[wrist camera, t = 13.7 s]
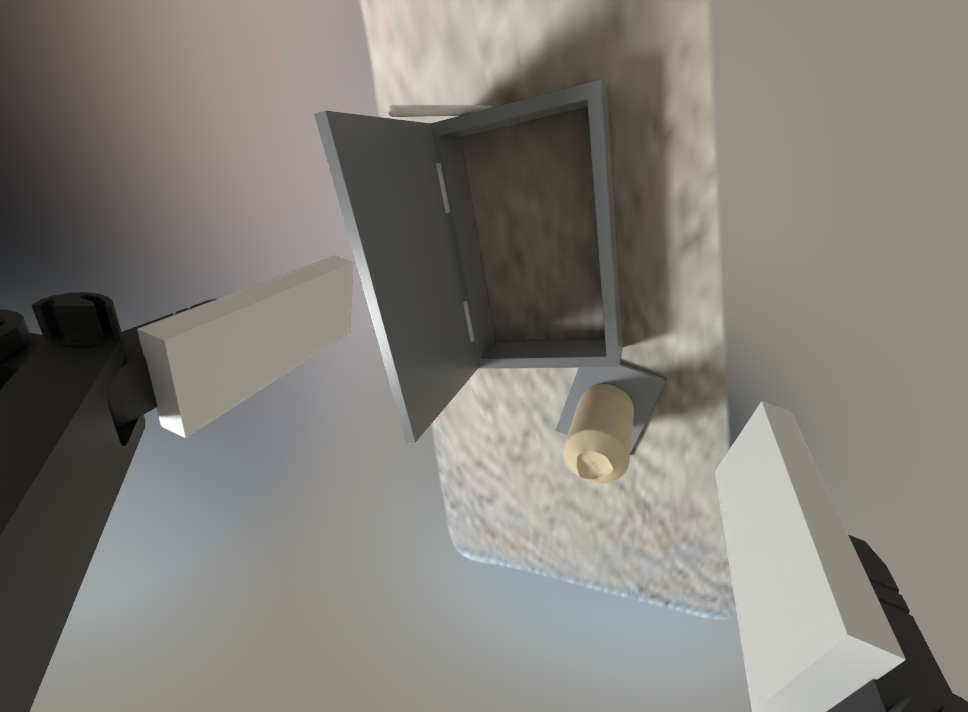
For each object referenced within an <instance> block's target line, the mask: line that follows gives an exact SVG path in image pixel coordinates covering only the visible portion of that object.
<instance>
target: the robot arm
mask: <svg viewBox="0 0 968 712" xmlns="http://www.w3.org/2000/svg"><path fill="white" fill-rule="evenodd" d="M352 284H353V262H351V261H348V260H345V259H342V258H340V257H336V256H332V257H329V258H327V259H324V260H321V261H319V262H316V263H313V264H311V265H308V266H305V267H303V268H300V269H297V270H294V271H292V272H290V273H286V274H284V275H281V276H278V277H276V278H273V279H270V280H267V281H265V282H262V283H259V284H257V285H254V286H251V287H249V288H246V289H243V290H241V291H238V292H235V293H233V294H230V295H227V296H225V297H222V298H219V299H213V300H208V301H205V302H202V303H200V304H197V305H194V306H191V307H190V309H188V308H186V309H183V310H180V311H178V312H176V313H175V314H169V315H167V316H164V317H161V318H159V319H156V320H153V321H150V322H148V323H145V324H142V325H140V326H137V327H134V328H131V329H129V330H126V331H123V332H121V329H120V325H119V322H118V318H117V314H116V311H115V307H114V303H113V301H112V300H111V299H110V298H109V297H107V296H104V295H101V294H96V293H85V292H81V293H65V294H59V295H54V296H50V297H47V298H44V299H41V300H39V301H37V302H36V303H34V304H32V308H33V310H34V313H35V315H36V318H37V321H38V324H39V326H40V329H41V331H42V334H43V335H40V334H34V333H30V332H29V329H28V327H27V324H26V322H25V319H24V317H23V316H22V315H21V314H19V313H18V312H14V311H10V310H0V712H30V709H31V707H32V704H33V702H34V699H35V697H36V694H37V692H38V689H39V687H40V685H41V682H42V679H43V677H44V675H45V672H46V670H47V667H48V665H49V662H50V660H51V657H52V655H53V652H54V650H55V648H56V645H57V643H58V640H59V638H60V635H61V633H62V630H63V628H64V625H65V623H66V621H67V618H68V616H69V613H70V611H71V608H72V606H73V603H74V601H75V598H76V596H77V593H78V591H79V589H80V586H81V584H82V581H83V579H84V576H85V574H86V571H87V569H88V567H89V564H90V561H91V559H92V556H93V554H94V551H95V549H96V547H97V544H98V542H99V539H100V537H101V534H102V532H103V530H104V527H105V525H106V522H107V520H108V517H109V515H110V512H111V510H112V507H113V505H114V502H115V500H116V498H117V495H118V493H119V490H120V488H121V485H122V483H123V480H124V478H125V475H126V473H127V471H128V468H129V466H130V463H131V461H132V458H133V456H134V453H135V451H136V448H137V446H138V444H139V441H140V438H141V436H142V433H143V431H144V429H145V417H144V414H145V413H147V412H149V411H151V410H152V409H154V408H156V407H157V410H158V415H159V419H160V423H161V426H162V427H164V428H166V429H168V430H170V431H172V432H174V433H176V434H178V435H180V436H182V437H184V438H186V437H188V436H190V435H191V434H193V433H194V432H196V431H197V430H199V429H201V428H202V427H204V426H205V425H207V424H208V423H210V422H212V421H213V420H215V419H216V418H218V417H219V416H221V415H223V414H224V413H226V412H227V411H229V410H230V409H232V408H234V407H235V406H237V405H238V404H240V403H241V402H243V401H245V400H246V399H247V398H249V397H251V396H252V395H254V394H255V393H257V392H258V391H260V390H262V389H263V388H265V387H266V386H268V385H270V384H271V383H273V382H274V381H275V380H277V379H279V378H281V377H282V376H284V375H285V374H287V373H288V372H290V371H292V370H293V369H294V368H296V367H298V366H299V365H301V364H302V363H304V362H306V361H307V360H309V359H310V358H312V357H313V356H315V355H317V354H318V353H320V352H321V351H323V350H324V349H326V348H328V347H329V346H331V345H332V344H334V343H335V342H337V341H339V340H340V339H342V338H343V337H345V336H346V335H348V334H349V333H350V332H351V309H352ZM715 475H716V481H717V488H718V494H719V501H720V507H721V513H722V520H723V526H724V533H725V539H726V546H727V552H728V559H729V565H730V572H731V578H732V585H733V591H734V598H735V604H736V611H737V617H738V624H739V630H740V637H741V643H742V650H743V656H744V662H745V669H746V676H747V682H748V688H749V695H750V702H751V708H752V712H968V702H967V701H965V700H964V699H963V698H961V697H959V696H957V695H955V694H953V693H952V691H951V689H950V687H949V686H948V684H947V682H946V680H945V678H944V676H943V674H942V672H941V670H940V668H939V666H938V664H937V662H936V661H935V658H934V657H933V655H932V653H931V651H930V649H929V647H928V645H927V643H926V641H925V639H924V637H923V635H922V633H921V631H920V630H919V628H918V626H917V624H916V622H915V620H914V618H913V616H911V615H909V611H910V610H909V608H908V606H907V604H906V602H905V600H904V599H903V597H902V595H900V594H898V592H899V589H898V587H897V585H896V583H895V581H894V580H893V577H892V575H891V573H890V572H889V570H888V568H887V566H886V565H885V564H884V562H883V561H882V560H881V559H880V558H879V557H878V556H877V554H875V552H874V551H873V550H872V549H871V547H870V546H869V545H868V544H867V543H866V542H865V541H863V540H860V539H858V538H855V537H853V536H850V535H848V533H847V531H846V529H845V527H844V525H843V522H842V520H841V518H840V516H839V514H838V512H837V510H836V507H835V505H834V503H833V501H832V499H831V496H830V494H829V492H828V490H827V488H826V486H825V483H824V481H823V479H822V477H821V475H820V473H819V471H818V468H817V466H816V464H815V462H814V460H813V458H812V455H811V453H810V451H809V449H808V447H807V444H806V442H805V440H804V438H803V436H802V434H801V431H800V429H799V427H798V425H797V423H796V421H795V419H794V416H793V414H792V412H791V411H788V410H785V409H782V408H779V407H777V406H773V405H771V404H768V403H765V402H761V403H760V405H759V406H758V408H757V409H756V411H755V412H754V414H753V415H752V417H751V418H750V420H749V421H748V423H747V424H746V426H745V427H744V429H743V430H742V432H741V433H740V435H739V436H738V438H737V439H736V441H735V442H734V444H733V445H732V447H731V448H730V450H729V451H728V453H727V454H726V456H725V457H724V459H723V460H722V462H721V463H720V465H719V466H718V468H717V469H716V471H715Z"/></svg>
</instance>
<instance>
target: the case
mask: <svg viewBox="0 0 968 712" xmlns="http://www.w3.org/2000/svg"><path fill="white" fill-rule="evenodd" d="M585 107H588V114H589V128H590V141H591V155H592V168H593V181H594V195H595V208H596V222H597V235H598V248H599V262H600V275H601V288H602V302H603V315H604V329H605V338H602V339H572V340H543V341H513V342H496V340H495V334H494V328H493V323H492V317H491V311H490V305H489V300H488V294H487V288H486V282H485V277H484V271H483V265H482V259H481V253H480V248H479V242H478V236H477V230H476V225H475V219H474V213H473V207H472V202H471V196H470V190H469V184H468V179H467V173H466V167H465V161H464V156H463V150H462V144H461V138H460V137H464V136H468V135H472V134H476V133H481V132H485V131H489V130H493V129H497V128H502V127H506V126H510V125H514V124H518V123H522V122H527V121H531V120H535V119H539V118H543V117H548V116H552V115H556V114H560V113H564V112H569V111H573V110H577V109H581V108H585ZM388 113H389V115H390V116H392V117H414V116H458V117H454V118H450V119H446V120H442V121H439V122H435V123H431V124H430V123H422V122H414V121H406V120H397V119H389V118H381V117H373V116H364V115H357V114H348V113H340V112H332V111H323V112H319V113H316V114H315V118H316V121H317V125H318V128H319V132H320V136H321V139H322V143H323V146H324V150H325V154H326V157H327V161H328V164H329V168H330V172H331V175H332V179H333V182H334V186H335V189H336V193H337V196H338V200H339V204H340V207H341V211H342V214H343V218H344V222H345V225H346V229H347V232H348V236H349V240H350V243H351V247H352V250H353V253H354V257H355V261H356V265H357V268H358V272H359V275H360V279H361V282H362V286H363V289H364V293H365V297H366V300H367V304H368V307H369V311H370V315H371V318H372V321H373V325H374V328H375V332H376V336H377V340H378V343H379V346H380V350H381V354H382V357H383V361H384V364H385V368H386V372H387V375H388V379H389V382H390V386H391V390H392V393H393V397H394V400H395V404H396V407H397V411H398V415H399V418H400V421H401V425H402V429H403V432H404V436H405V440H406V442H416V441H417V440H418V439H419V437H420V436H421V435H422V434H423V433H424V432H425V430H426V429H427V428H428V427H429V426H430V425H431V423H432V422H433V421H434V420H435V419H436V417H437V416H438V415H439V414H440V413H441V412H442V410H443V409H444V408H445V407H446V406H447V404H448V403H449V402H450V401H451V400H452V399H453V397H454V396H455V395H456V394H457V393H458V392H459V390H460V389H461V388H462V387H463V386H464V384H465V383H466V382H467V381H468V380H469V379H470V377H471V376H472V375H473V374H474V373H475V371H476V370H477V369H478V368H574V367H619V365H620V360H621V355H622V350H623V338H622V321H621V305H620V288H619V271H618V254H617V237H616V220H615V203H614V186H613V169H612V152H611V136H610V119H609V102H608V87H607V86H606V85H605V84H604V83H603V81H602V80H601V79H600V80H596V81H592V82H589V83H585V84H581V85H577V86H573V87H569V88H566V89H562V90H558V91H554V92H550V93H546V94H542V95H539V96H535V97H531V98H527V99H523V100H519V101H516V102H512V103H508V104H504V105H500V106H496V107H492V106H477V105H391V106H389V108H388Z"/></svg>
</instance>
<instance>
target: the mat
mask: <svg viewBox="0 0 968 712" xmlns="http://www.w3.org/2000/svg"><path fill="white" fill-rule="evenodd" d="M665 382H666V378H663V377H660V376H657V375H654V374H651V373H649V372H646V371H643V370H640V369H637V368H634V367H631V366H629V365H626V364H623V363H620V365H619V367H579V369H578V372H577V374H576V377H575V380H574V382H573V385H572V388H571V391H570V393H569V396H568V399H567V401H566V404H565V407H564V410H563V412H562V415H561V418H560V420H559V423H558V426H557V429H556V431H559V432H561V433H564V434H566V435H568V432H569V429H570V426H571V423H572V420H573V417H574V414H575V411H576V408H577V405H578V402H579V400H580V397H581V396H582V394H583V393H584V392H585V391H586V390H587V389H588V388H590V387H592V386H594V385H598V384H610V385H614V386H616V387H619V388H621V389H622V390H623V391H625V392H626V393H627V394H628V395H629V397H630V398H631V400H632V403H633V406H634V418H633V428H632V438H631V447H630V453H631V451H632V449H633V447H634V445H635V443H636V441H637V439H638V437H639V435H640V433H641V431H642V429H643V427H644V425H645V423H646V421H647V419H648V416H649V414H650V412H651V410H652V408H653V406H654V404H655V402H656V400H657V398H658V396H659V394H660V392H661V390H662V388H663V386H664V384H665Z"/></svg>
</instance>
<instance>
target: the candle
mask: <svg viewBox="0 0 968 712" xmlns="http://www.w3.org/2000/svg"><path fill="white" fill-rule="evenodd" d="M633 418H634V406H633V403H632V400H631V398H630V397H629V395H628V394H627V393H626V392H625V391H623V390H622V389H621V388H619V387H616V386H614V385H610V384H598V385H594V386H592V387H590V388H588V389H587V390H586V391H585V392H584V393H583V394H582V396H581V397H580V400H579V402H578V405H577V408H576V411H575V414H574V417H573V420H572V423H571V426H570V429H569V432H568V436H567V439H566V442H565V445H564V449H563V456H564V459H565V462H566V464H567V466H568V467H569V468H570V469H571V471H572V472H574V473H575V474H576V475H577V476H579V477H581V478H582V479H585V480H587V481H590V482H595V483H608V482H612V481H615V480H617V479H619V478H620V477H621V476H622V475H623V474H624V473H625V472H626V470H627V468H628V465H629V457H630V447H631V438H632V428H633Z"/></svg>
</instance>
